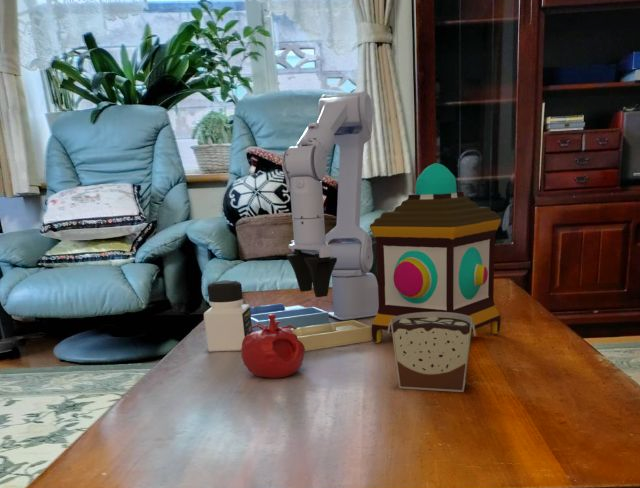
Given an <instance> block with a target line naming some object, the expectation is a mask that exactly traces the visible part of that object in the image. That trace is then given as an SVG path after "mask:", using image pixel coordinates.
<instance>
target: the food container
mask: <svg viewBox="0 0 640 488" xmlns="http://www.w3.org/2000/svg"><path fill="white" fill-rule="evenodd" d="M390 333H391V335H392V344H393V351H394V352H393V353H394V359H395V366H396V367H395V368H396V377H397V383H398V389H405V390H406V389H407V390H423V391H437V392H438V391H440V392H453V393H454V392H456V393H464V392H465V388H466V380H467V375H468V364H469V358H470V357H469V356H470V347H471V340H472V333H473V337H476V336H477V332H476V329H475V326H474V323H473V322H472V318H471V317H469V316H467V315H464V314H459V313H451V312H419V313H410V314H404V315H399V316H396V317H393V318H392V319H391V323H389V327H388V330H387V334H390Z"/></svg>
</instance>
